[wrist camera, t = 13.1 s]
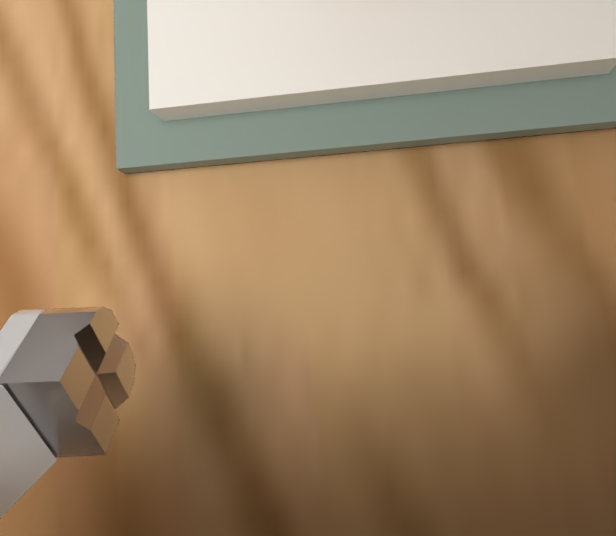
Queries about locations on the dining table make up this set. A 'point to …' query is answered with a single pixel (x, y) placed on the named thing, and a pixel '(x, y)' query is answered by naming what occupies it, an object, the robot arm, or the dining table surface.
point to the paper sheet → (362, 49)
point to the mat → (337, 115)
